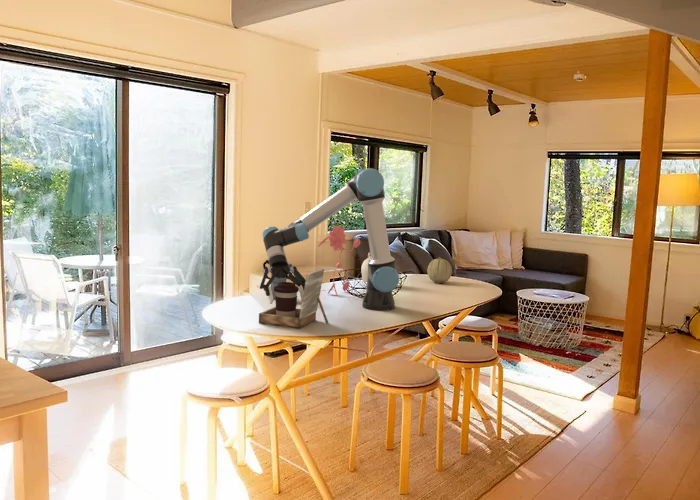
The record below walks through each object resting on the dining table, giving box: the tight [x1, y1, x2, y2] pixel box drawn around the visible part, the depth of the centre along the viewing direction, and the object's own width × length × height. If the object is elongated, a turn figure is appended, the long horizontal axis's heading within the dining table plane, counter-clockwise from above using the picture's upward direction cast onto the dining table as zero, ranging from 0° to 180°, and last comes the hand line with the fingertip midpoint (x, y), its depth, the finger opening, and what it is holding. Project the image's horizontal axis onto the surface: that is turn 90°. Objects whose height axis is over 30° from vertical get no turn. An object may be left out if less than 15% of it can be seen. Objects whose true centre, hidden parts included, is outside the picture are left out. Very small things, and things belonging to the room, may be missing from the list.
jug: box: [360, 251, 371, 282], centre depth 326 cm, size 15×16×25 cm
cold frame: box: [258, 268, 329, 330], centre depth 236 cm, size 24×16×22 cm, turn 71°
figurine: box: [317, 225, 361, 297], centre depth 301 cm, size 15×26×35 cm, turn 134°
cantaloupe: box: [426, 256, 453, 284], centre depth 345 cm, size 15×15×15 cm
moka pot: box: [262, 259, 294, 299], centre depth 283 cm, size 10×15×20 cm, turn 78°
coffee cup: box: [274, 281, 299, 318], centre depth 238 cm, size 10×10×15 cm
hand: (288, 301), depth 235 cm, fingers open, 13 cm apart
